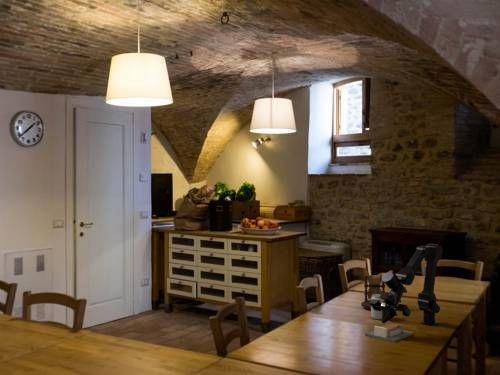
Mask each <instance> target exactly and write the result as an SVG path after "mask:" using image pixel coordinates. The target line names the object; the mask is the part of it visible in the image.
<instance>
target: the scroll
mask: <svg viewBox="0 0 500 375" xmlns="http://www.w3.org/2000/svg"><path fill="white" fill-rule="evenodd" d="M382 276H383V274H382V272H380V275H379V274H378V275H376V274H375V275H374V274H373V275H371V274H370V272H368V271H367V275H364V277H363V278H364V286H363V287H364V293H363V295H364V298H363V299H364V301H362V302H361V307H363V308H364V309H365V310H366V311H368V309H371V305H370V301H371V297H372V295H373V294H381V291H383V292H386V291H385V289H386V284H385V283H384V282H383V280H382ZM381 283H382V284H381ZM381 288H382V289H381Z"/></svg>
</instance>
